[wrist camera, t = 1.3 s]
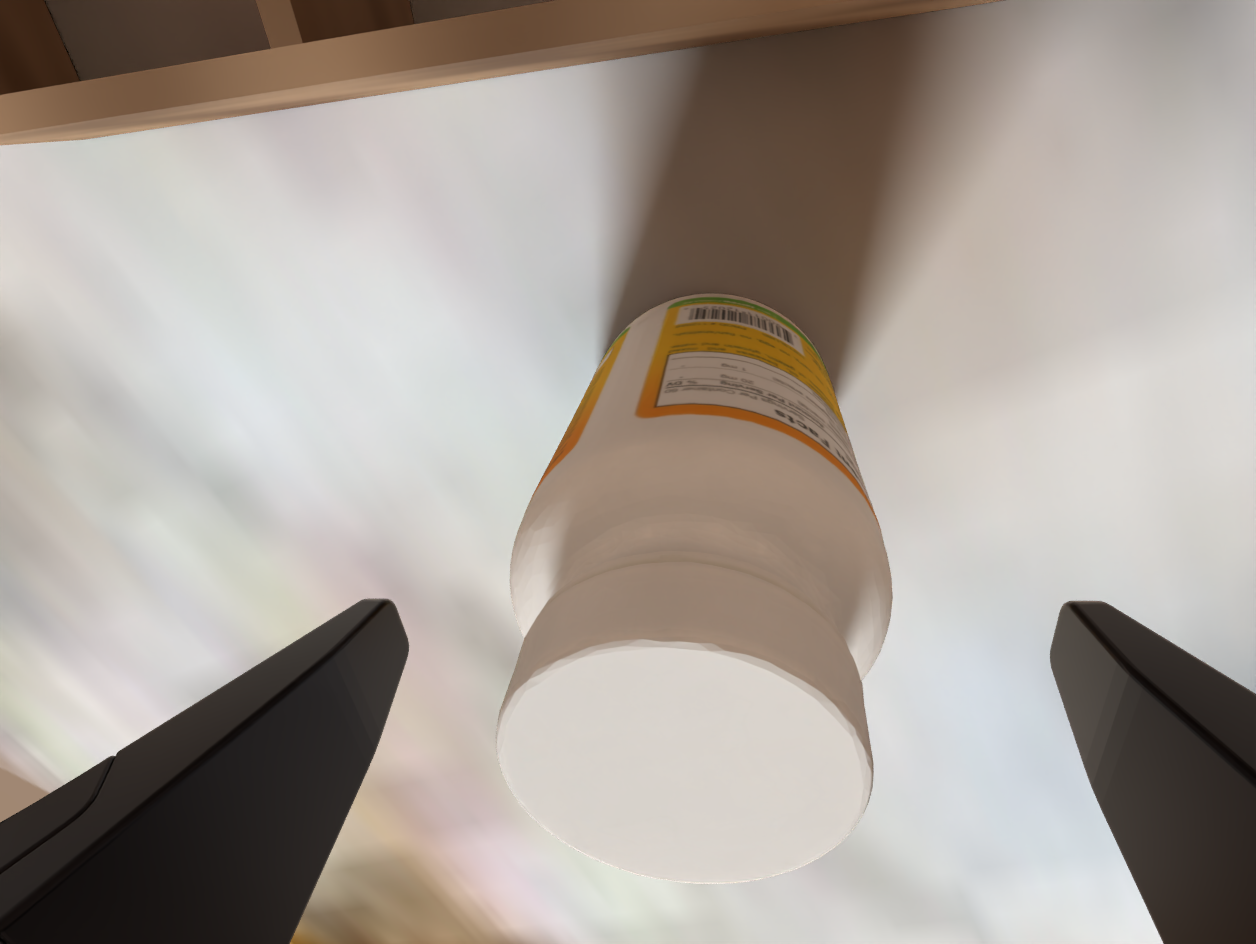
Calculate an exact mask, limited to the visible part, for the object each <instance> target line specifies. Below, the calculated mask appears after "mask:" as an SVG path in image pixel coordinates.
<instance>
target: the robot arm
mask: <svg viewBox="0 0 1256 944" xmlns="http://www.w3.org/2000/svg"><path fill="white" fill-rule="evenodd" d="M408 652H409V642H408V638H407V635H406V632H405V630H404V627H403V624H402V622H401V619H400V616H399V613H398V611H397V608H396V606H395V604H394V603H393V602H392V601H391V600H389V599H364V600H361V601H359V602H358V603H356V604H354V605H353V606H351V607H350V608H348V609H346V610H345V611H343V612H342V613H340V614H338V615H337V616H335V617H334V618H332V619H330V620H329V621H327V622H326V623H324V624H322V625H321V626H319V627H318V628H316V629H314V630H313V631H311V632H309V633H308V634H306V635H305V636H303V637H301V638H300V639H298V640H297V641H295V642H293V643H292V644H290V645H289V646H287V647H285V648H284V649H282V650H281V651H279V652H277V653H276V654H274V655H273V656H271V657H269V658H268V659H266V660H265V661H263V662H261V663H260V664H258V665H256V666H255V667H253V668H252V669H250V670H248V671H247V672H245V673H244V674H242V675H240V676H239V677H237V678H236V679H234V680H232V681H231V682H229V683H228V684H226V685H224V686H223V687H221V688H220V689H218V690H216V691H215V692H213V693H212V694H210V695H208V696H207V697H205V698H203V699H202V700H200V701H199V702H197V703H195V704H194V705H192V706H191V707H189V708H187V709H186V710H184V711H183V712H181V713H179V714H178V715H176V716H175V717H173V718H171V719H170V720H168V721H167V722H165V723H163V724H162V725H160V726H158V727H157V728H155V729H154V730H152V731H150V732H149V733H147V734H146V735H144V736H142V737H141V738H139V739H138V740H136V741H134V742H133V743H131V744H130V745H128V746H126V747H125V748H123V749H122V750H120V751H119V752H118V753H117V754H116V756H110V757H108V758H107V759H105V760H104V761H102V762H100V763H99V764H97V765H96V766H94V767H92V768H91V769H89V770H88V771H86V772H84V773H83V774H81V775H80V776H78V777H76V778H75V779H73V780H71V781H70V782H68V783H66V784H65V785H63V786H62V787H60V788H58V789H57V790H55V791H53V792H52V793H50V794H48V795H47V796H45V797H43V798H42V799H40V800H39V801H37V802H35V803H33V804H32V805H30V806H28V807H27V808H25V809H23V810H21V811H20V812H18V813H16V814H15V815H13V816H11V817H9V818H8V819H6V820H4V821H2V822H0V944H290V942H291V939H292V937H293V935H294V933H295V930H296V928H297V926H298V924H299V922H300V919H301V917H302V915H303V913H304V910H305V908H306V906H307V904H308V902H309V899H310V897H311V895H312V893H313V890H314V888H315V886H316V884H317V882H318V879H319V877H320V875H321V873H322V870H323V868H324V866H325V864H326V862H327V859H328V857H329V855H330V853H331V850H332V848H333V846H334V844H335V842H336V839H337V837H338V835H339V833H340V830H341V828H342V826H343V824H344V822H345V819H346V817H347V815H348V813H349V810H350V808H351V806H352V804H353V801H354V799H355V797H356V795H357V793H358V790H359V788H360V786H361V784H362V781H363V779H364V777H365V775H366V773H367V770H368V768H369V766H370V763H371V761H372V759H373V756H374V754H375V752H376V749H377V746H378V744H379V741H380V738H381V735H382V732H383V729H384V726H385V723H386V720H387V717H388V714H389V711H390V708H391V705H392V702H393V699H394V696H395V693H396V690H397V687H398V684H399V681H400V678H401V675H402V672H403V669H404V666H405V663H406V660H407V657H408ZM1050 663H1051V668H1052V671H1053V675H1054V678H1055V681H1056V684H1057V687H1058V690H1059V693H1060V696H1061V699H1062V702H1063V705H1064V708H1065V711H1066V714H1067V717H1068V720H1069V723H1070V726H1071V729H1072V732H1073V735H1074V738H1075V741H1076V744H1077V747H1078V750H1079V753H1080V756H1081V759H1082V762H1083V765H1084V768H1085V770H1086V773H1087V776H1088V779H1089V781H1090V784H1091V787H1092V789H1093V791H1094V794H1095V796H1096V798H1097V801H1098V803H1099V805H1100V808H1101V810H1102V812H1103V814H1104V816H1105V818H1106V821H1107V823H1108V825H1109V827H1110V829H1111V831H1112V833H1113V836H1114V838H1115V840H1116V842H1117V844H1118V846H1119V849H1120V851H1121V853H1122V855H1123V857H1124V859H1125V861H1126V864H1127V866H1128V868H1129V870H1130V872H1131V874H1132V877H1133V879H1134V881H1135V883H1136V885H1137V887H1138V889H1139V892H1140V894H1141V896H1142V898H1143V900H1144V902H1145V905H1146V907H1147V909H1148V911H1149V913H1150V915H1151V918H1152V920H1153V922H1154V924H1155V926H1156V928H1157V930H1158V933H1159V935H1160V937H1161V939H1162V941H1163V943H1164V944H1256V694H1255V693H1253V692H1252V691H1250V690H1249V689H1247V688H1245V687H1244V686H1242V685H1240V684H1239V683H1237V682H1235V681H1234V680H1232V679H1231V678H1229V677H1227V676H1226V675H1224V674H1222V673H1221V672H1219V671H1217V670H1216V669H1214V668H1212V667H1211V666H1209V665H1208V664H1206V663H1204V662H1203V661H1201V660H1199V659H1198V658H1196V657H1194V656H1193V655H1191V654H1190V653H1188V652H1186V651H1185V650H1183V649H1181V648H1180V647H1178V646H1176V645H1175V644H1173V643H1172V642H1170V641H1168V640H1167V639H1165V638H1163V637H1162V636H1160V635H1158V634H1157V633H1155V632H1153V631H1152V630H1150V629H1149V628H1147V627H1145V626H1144V625H1142V624H1140V623H1139V622H1137V621H1135V620H1134V619H1132V618H1131V617H1129V616H1127V615H1126V614H1124V613H1122V612H1121V611H1119V610H1117V609H1116V608H1114V607H1113V606H1111V605H1109V604H1107V603H1105V602H1102V601H1069V602H1066V603H1065V604H1064V605H1063V606H1062V608H1061V610H1060V613H1059V617H1058V621H1057V625H1056V629H1055V633H1054V637H1053V641H1052V645H1051V650H1050Z"/></svg>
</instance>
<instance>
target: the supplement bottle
mask: <svg viewBox="0 0 1256 944" xmlns="http://www.w3.org/2000/svg"><path fill="white" fill-rule="evenodd" d="M510 590H511V598H512V604H513V609H514V614H515V617H516V620H517V623H518V626H519V628H520V631H521V633H522V635H523V637H524V641H523V645H522V648H521V651H520V654H519V657H518V661H517V664H516V667H515V670H514V673H513V676H512V678H511V681H510V684H509V687H508V690H507V692H506V695H505V698H504V701H503V704H502V706H501V709H500V713H499V718H498V724H497V731H496V750H497V755H498V760H499V764H500V768H501V772H502V774H503V776H504V778H505V780H506V783H507V784H508V786H509V788H510V790H511V792H512V794H513V795H514V796H515V798H516V799H517V801H518V802H519V804H520V805H521V806H522V807H523V808H524V809H525V811H526V812H527V813H528V814H529V815H530V816H531V817H532V818H533V819H534V820H535V821H536V822H537V823H538V824H539V825H540V826H541V827H542V828H544V829H545V830H547V831H548V832H549V833H551V834H552V835H553V836H555V837H556V838H557V839H559V840H560V841H562V842H564V843H565V844H567V845H568V846H570V847H571V848H573V849H575V850H577V851H579V852H581V853H583V854H585V855H586V856H588V857H590V858H592V859H595V860H597V861H600V862H602V863H604V864H607V865H609V866H613V867H616V868H619V869H622V870H625V871H628V872H631V873H634V874H636V875H640V876H645V877H650V878H655V879H663V880H671V881H676V882H684V883H698V884H722V883H739V882H748V881H755V880H760V879H764V878H769V877H772V876H776V875H779V874H783V873H786V872H789V871H793V870H796V869H798V868H800V867H802V866H804V865H806V864H809V863H811V862H813V861H815V860H817V859H818V858H820V857H821V856H823V855H824V854H826V853H827V852H829V851H830V850H832V849H833V848H835V847H836V846H837V845H838V844H839V843H841V842H842V841H843V840H844V839H845V838H846V837H847V836H848V835H849V834H850V833H851V832H852V831H853V829H854V828H855V826H856V825H857V823H858V822H859V820H860V819H861V817H862V816H863V814H864V811H865V809H866V807H867V805H868V803H869V799H870V795H871V791H872V787H873V758H872V751H871V745H870V739H869V732H868V726H867V719H866V713H865V707H864V698H863V688H862V682H861V681H862V680H863V678H864V677H865V676H866V675H867V673H868V672H869V670H870V669H871V667H872V666H873V664H874V662H875V660H876V659H877V657H878V655H879V653H880V651H881V648H882V645H883V643H884V640H885V637H886V634H887V630H888V626H889V622H890V616H891V607H892V598H893V596H892V580H891V572H890V567H889V562H888V557H887V553H886V549H885V546H884V542H883V538H882V533H881V529H880V526H879V523H878V520H877V518H876V515H875V513H874V510H873V506H872V503H871V502H870V499H869V496H868V493H867V491H866V488H865V485H864V482H863V479H862V476H861V473H860V470H859V467H858V464H857V461H856V458H855V455H854V452H853V449H852V445H851V442H850V440H849V437H848V434H847V431H846V428H845V424H844V421H843V418H842V415H841V412H840V409H839V406H838V403H837V399H836V396H835V393H834V390H833V387H832V384H831V381H830V379H829V376H828V373H827V370H826V368H825V366H824V363H823V361H822V359H821V357H820V355H819V353H818V351H817V350H816V348H815V347H814V345H813V344H812V342H811V341H810V340H809V338H808V337H807V336H806V335H805V334H804V333H803V332H802V331H801V330H800V329H799V328H798V327H797V326H796V325H795V324H794V323H793V322H791V321H790V320H789V319H788V318H786V317H785V316H783V315H782V314H781V313H779V312H777V311H775V310H774V309H772V308H770V307H768V306H766V305H764V304H761V303H759V302H757V301H754V300H751V299H748V298H744V297H740V296H735V295H728V294H718V293H707V294H695V295H689V296H684V297H680V298H676V299H673V300H670V301H668V302H665V303H663V304H661V305H658V306H656V307H654V308H652V309H650V310H648V311H647V312H645V313H644V314H642V315H641V316H639V317H638V318H636V319H635V320H634V321H633V322H632V323H631V324H629V325H628V326H627V327H626V328H625V329H624V330H623V331H622V332H621V333H620V334H619V336H618V337H617V338H616V339H615V340H614V342H613V343H612V345H611V346H610V348H609V349H608V351H607V352H606V354H605V356H604V357H603V359H602V361H601V363H600V365H599V366H598V368H597V370H596V372H595V374H594V376H593V379H592V381H591V383H590V385H589V387H588V389H587V391H586V393H585V395H584V397H583V399H582V401H581V403H580V405H579V407H578V409H577V411H576V413H575V415H574V417H573V419H572V421H571V423H570V425H569V426H568V428H567V430H566V432H565V434H564V436H563V438H562V440H561V442H560V444H559V446H558V448H557V450H556V452H555V454H554V456H553V458H552V459H551V461H550V463H549V465H548V467H547V469H546V471H545V473H544V475H543V476H542V478H541V480H540V482H539V484H538V486H537V488H536V490H535V492H534V494H533V496H532V498H531V500H530V503H529V505H528V507H527V509H526V512H525V515H524V517H523V520H522V522H521V525H520V527H519V530H518V533H517V536H516V539H515V542H514V547H513V552H512V558H511V565H510Z"/></svg>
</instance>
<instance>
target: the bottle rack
mask: <svg viewBox="0 0 1256 944" xmlns="http://www.w3.org/2000/svg"><path fill="white" fill-rule="evenodd" d="M255 1H256V4H257V7H258V10H259V13H260V16H261V20H262V23H263V26H264V29H265V32H266V35H267V38H268V41H269V45H270V48H271V49H267V50H261V51H255V52H249V53H243V54H237V55H231V56H226V57H220V58H214V59H208V60H202V61H196V62H191V63H185V64H179V65H173V66H167V67H161V68H155V69H150V70H144V71H138V72H132V73H126V74H120V75H114V76H109V77H103V78H97V79H91V80H85V81H80V80H79V78H78V76H77V74H76V71H75V69H74V67H73V65H72V62H71V60H70V58H69V56H68V53H67V51H66V49H65V47H64V44H63V42H62V40H61V38H60V35H59V33H58V31H57V29H56V26H55V24H54V22H53V20H52V18H51V15H50V13H49V11H48V9H47V6H46V4H45V2H44V0H0V145H11V144H26V143H40V142H54V141H69V140H83V139H91V138H97V137H104V136H111V135H117V134H124V133H131V132H137V131H144V130H150V129H157V128H164V127H170V126H177V125H183V124H190V123H197V122H203V121H210V120H217V119H223V118H230V117H236V116H243V115H250V114H256V113H263V112H269V111H276V110H283V109H289V108H296V107H303V106H309V105H316V104H322V103H329V102H336V101H342V100H349V99H355V98H362V97H369V96H375V95H382V94H389V93H395V92H402V91H408V90H415V89H422V88H428V87H435V86H441V85H448V84H455V83H461V82H468V81H475V80H481V79H488V78H494V77H501V76H508V75H514V74H521V73H527V72H534V71H541V70H547V69H554V68H561V67H567V66H574V65H580V64H587V63H594V62H600V61H607V60H613V59H620V58H627V57H633V56H640V55H647V54H653V53H660V52H666V51H673V50H680V49H686V48H693V47H699V46H706V45H713V44H719V43H726V42H733V41H739V40H746V39H752V38H759V37H766V36H772V35H779V34H785V33H792V32H799V31H805V30H812V29H819V28H825V27H832V26H838V25H845V24H852V23H858V22H865V21H871V20H878V19H885V18H891V17H898V16H905V15H911V14H918V13H924V12H931V11H938V10H944V9H951V8H957V7H964V6H971V5H977V4H984V3H991V2H997V1H1004V0H554V1H548V2H542V3H536V4H530V5H524V6H518V7H513V8H507V9H501V10H495V11H489V12H483V13H477V14H472V15H466V16H460V17H454V18H448V19H442V20H436V21H431V22H425V23H419V24H414V20H413V16H412V11H411V7H410V2H409V0H255Z"/></svg>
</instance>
